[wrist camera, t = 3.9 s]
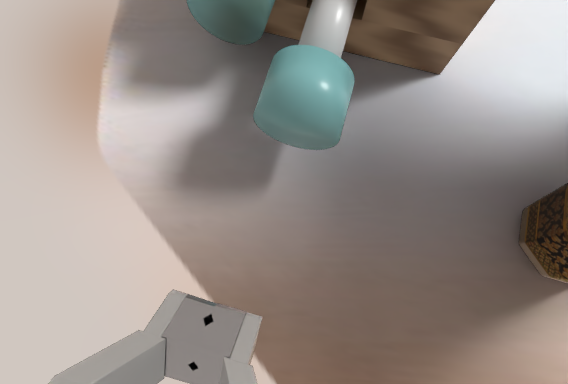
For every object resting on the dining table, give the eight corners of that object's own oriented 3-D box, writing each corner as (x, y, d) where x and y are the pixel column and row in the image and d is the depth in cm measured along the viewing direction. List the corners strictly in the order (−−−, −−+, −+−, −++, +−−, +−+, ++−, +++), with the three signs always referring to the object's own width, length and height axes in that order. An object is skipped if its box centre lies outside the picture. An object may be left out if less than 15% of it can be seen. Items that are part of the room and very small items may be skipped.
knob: (373, 3, 27) (396, -68, 22) (332, 156, 23) (347, 119, 18) (306, -13, 27) (312, -86, 22) (256, 136, 24) (249, 93, 18)
